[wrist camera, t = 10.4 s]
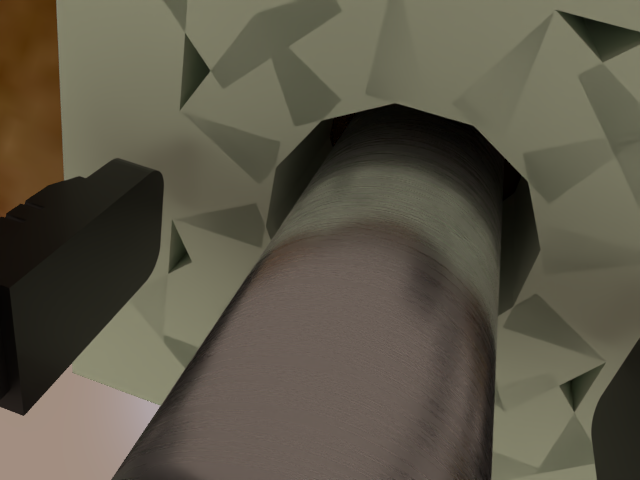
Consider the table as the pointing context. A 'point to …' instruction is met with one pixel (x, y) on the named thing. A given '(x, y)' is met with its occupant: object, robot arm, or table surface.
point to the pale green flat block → (314, 146)
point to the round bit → (355, 324)
